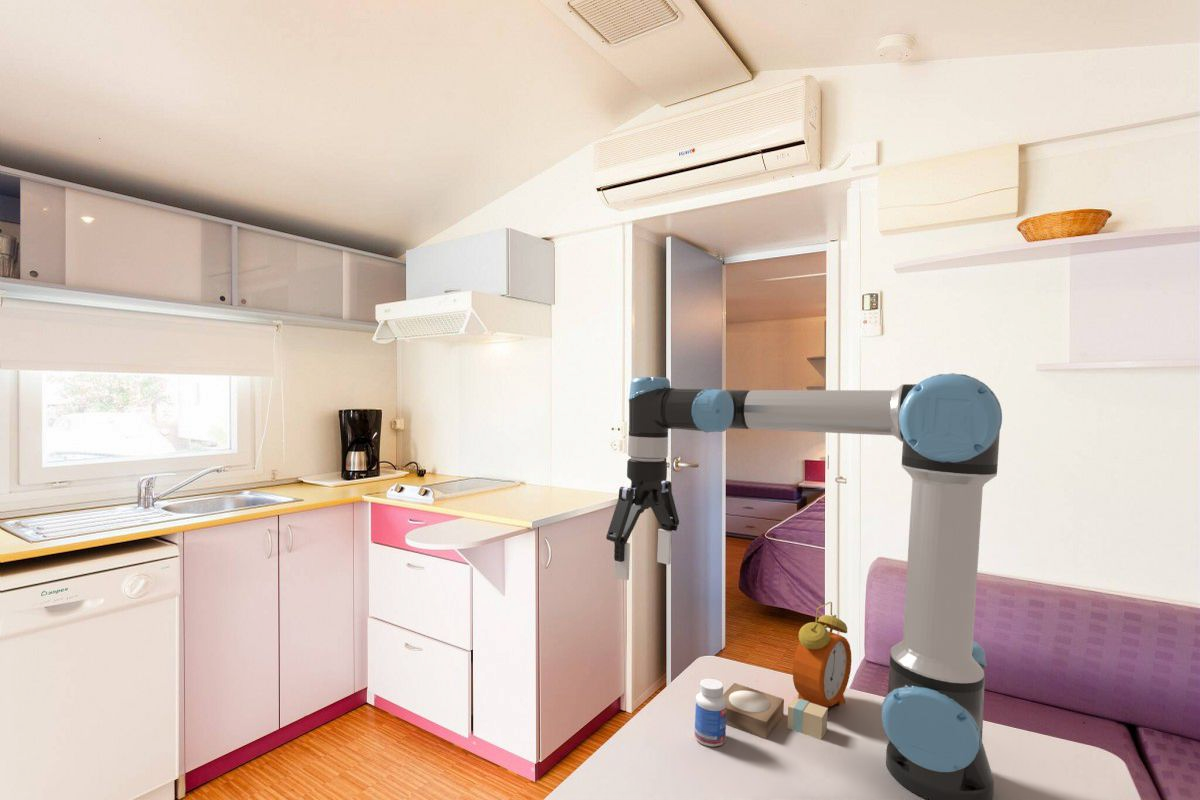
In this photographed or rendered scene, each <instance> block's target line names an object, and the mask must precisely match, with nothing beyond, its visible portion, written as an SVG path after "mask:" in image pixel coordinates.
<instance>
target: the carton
mask: <svg viewBox="0 0 1200 800" xmlns="http://www.w3.org/2000/svg"><path fill="white" fill-rule="evenodd" d="M828 711H829V708H826V707H823V706H820V705H816V704H813V703H810V702H809V701H806V700H803V699H798V697H793V699H792V701H791V702H790V703H789V704H788V707H787V729H790V730H792V731H794V732H797V733H800V734H803V735H805V736H810V737H813V738H815V739H818V740H822V739H823V737H824V735H825V734H826V732H827V730H828Z"/></svg>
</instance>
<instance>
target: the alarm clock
mask: <svg viewBox="0 0 1200 800" xmlns="http://www.w3.org/2000/svg"><path fill="white" fill-rule="evenodd" d="M829 604H830V615H829V614H822V615H821V616H819V618H818V612H819V611H818V610H819V609H820V608H823V607H825V606H827V605H829ZM827 628H828V629H829V630H828V629H827ZM833 631H837V632H839V633H843V634H848V627H847V624H846V623H845V622H844V621H843V620H842V619H840V618H837V615H836V614H833V602H832V601H829V602H826V603H824V604H823V605H820V606H819V607H816V609H815V621H813V622H812V621H811V622H807V623H805V624H803V626H801V628H800V629H799V631H798V640H799V642H798V645H797V646H796V650H795V654H794V658H793V665H792V681H793V685H794V688H795V690H796V692H797V693H798V695H797V698H798V699H803V700H806V701H809V702H810V703H813V704H816V705H820V706H823V707H826V708H828V709H829V708H830V707H832V706H834V705H838V706H842V705H843V704H844V703H846V701H845V692H846V689H847V686H848V683H849V679H850V675H851V670H852V649H851V645H850V642H849V640H848V639H847V638H846V637H844V636H843V635H842V634H841V635H840V634H838V633H835V632H833Z"/></svg>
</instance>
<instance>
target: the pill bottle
mask: <svg viewBox="0 0 1200 800" xmlns="http://www.w3.org/2000/svg"><path fill="white" fill-rule="evenodd" d="M699 686H700V687H699V691H700V692H698V693H697V694H696V696H695V714H694V738H695V740H696V741H697V742H698V743H699V744H701V745H703V746H706V747H713V748H715V747H720V746H721V745H723V744H725V742H726V736H727V735H726V732H727V731H726V728H727V724H726V710H727V701H726V698H725V697H724V696H723V694H724V683H722V682H721V681H720V680H718V679H715V678H704V679H702V680H700V683H699Z"/></svg>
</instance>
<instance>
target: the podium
mask: <svg viewBox="0 0 1200 800" xmlns="http://www.w3.org/2000/svg"><path fill="white" fill-rule="evenodd" d="M722 695H723V696H724V697H725V698H726V701H727V710H726V726H730V727H732V728H734V729H738V730H740V731H744V732H746V733H749V734H751V735H753V736H757V737H759V738H762V739H767V738H768V737H769V735H770V734H771V732H772V731H773V729H775V727H776V725H777V724H778V723H779V722H780V721H781V719H782V718H783V716H784V713H785V711H784V707H785V698H783V697H779V696H776V695H773V694H770V693H766V692H764V691H761V690H757V689H754V688H752V687H748V686H746V685H745V686H744V685H743V684H739V683H735V682H733V684H732V685H730V687H728V688H727V690H726V691H725V692H723V694H722Z"/></svg>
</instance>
